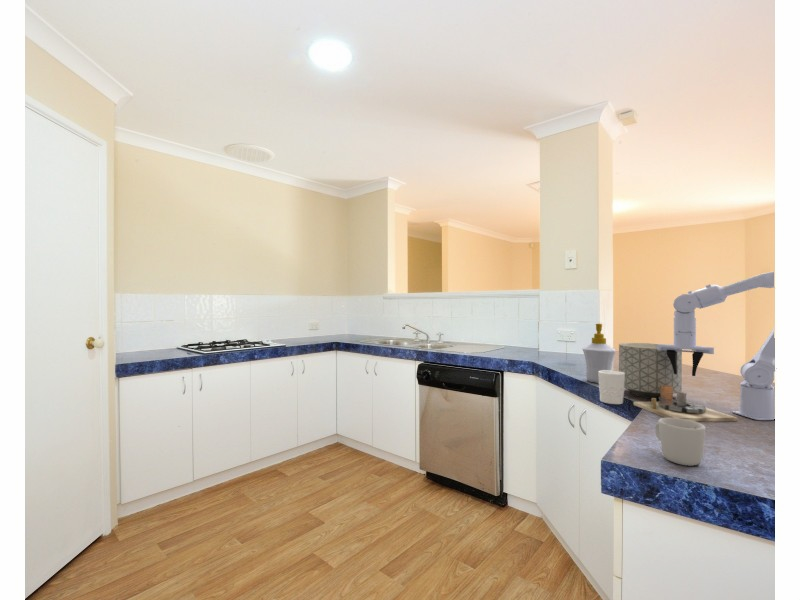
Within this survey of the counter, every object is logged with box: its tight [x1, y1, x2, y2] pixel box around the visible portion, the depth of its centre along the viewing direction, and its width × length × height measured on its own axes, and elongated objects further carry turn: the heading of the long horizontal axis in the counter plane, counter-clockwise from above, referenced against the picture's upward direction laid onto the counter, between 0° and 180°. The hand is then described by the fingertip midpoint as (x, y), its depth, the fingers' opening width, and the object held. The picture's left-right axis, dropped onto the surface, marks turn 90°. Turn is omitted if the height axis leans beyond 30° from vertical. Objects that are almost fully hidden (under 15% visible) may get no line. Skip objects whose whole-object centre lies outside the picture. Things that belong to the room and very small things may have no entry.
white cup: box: [598, 370, 625, 405], centre depth 130 cm, size 8×8×10 cm
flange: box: [658, 385, 707, 413], centre depth 120 cm, size 15×11×5 cm
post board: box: [633, 391, 738, 422], centre depth 118 cm, size 18×18×6 cm
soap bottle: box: [581, 323, 617, 384], centre depth 164 cm, size 13×13×25 cm
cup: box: [654, 417, 707, 467], centre depth 82 cm, size 11×8×8 cm
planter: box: [618, 342, 683, 400], centre depth 139 cm, size 19×19×18 cm
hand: (684, 374), depth 124 cm, fingers open, 4 cm apart
